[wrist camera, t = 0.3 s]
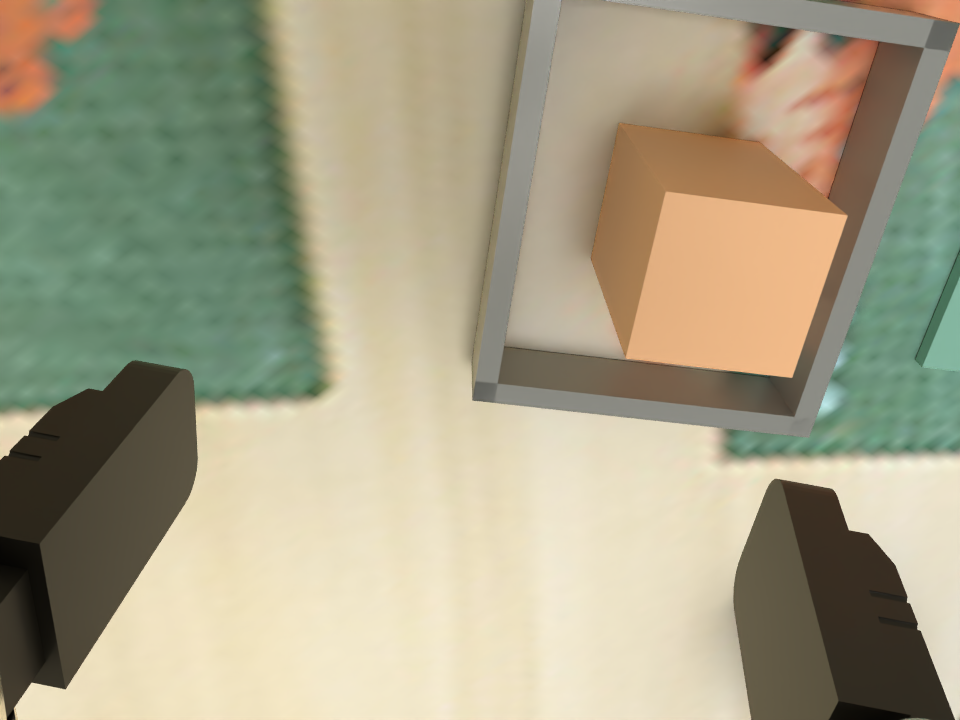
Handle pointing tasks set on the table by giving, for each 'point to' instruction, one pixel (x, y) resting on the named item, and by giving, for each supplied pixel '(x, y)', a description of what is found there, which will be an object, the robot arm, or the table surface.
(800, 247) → the block
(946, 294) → the mat
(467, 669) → the table surface
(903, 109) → the grey rectangular frame
